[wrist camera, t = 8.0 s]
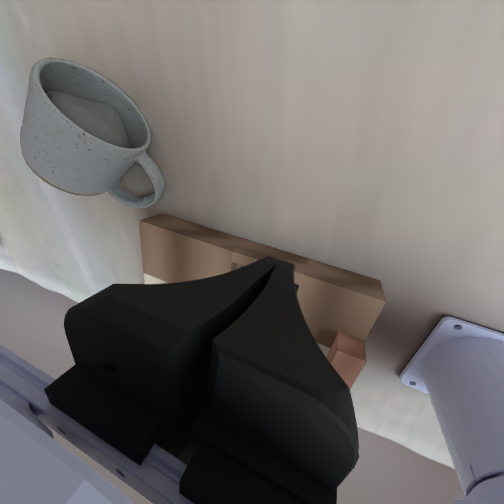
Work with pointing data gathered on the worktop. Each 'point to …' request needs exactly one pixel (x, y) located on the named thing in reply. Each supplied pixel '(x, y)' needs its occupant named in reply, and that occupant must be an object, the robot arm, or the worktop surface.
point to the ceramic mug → (84, 133)
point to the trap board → (305, 277)
